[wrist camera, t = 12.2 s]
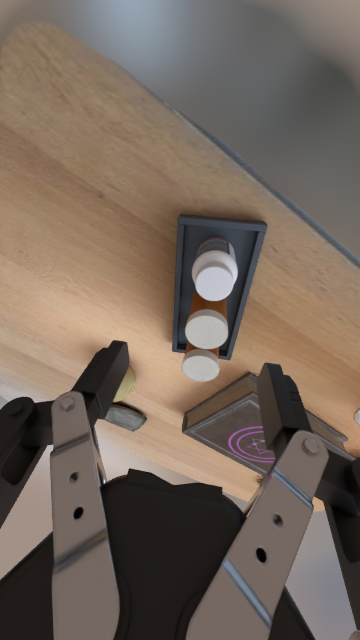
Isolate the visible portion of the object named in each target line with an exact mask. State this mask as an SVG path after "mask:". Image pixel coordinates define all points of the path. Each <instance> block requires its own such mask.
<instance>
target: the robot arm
mask: <svg viewBox="0 0 360 640" xmlns="http://www.w3.org/2000/svg"><path fill="white" fill-rule="evenodd" d="M128 367H129V353H128V345H127V342H123V341H117V340H113V341H112V343H111V344H110V346H109V347H108V348H102V349H101V350H100V351H98V352H97V353H96V354H95V356H94V357H93V359H92V360H91V362H90V363H89V364H88V367H86V369H85V370H84V372H83V373H82V375H81V376H80V378H79V379H78V381H77V382H76V384H75V385H74V387H73V388H72V390H71V391H70V392H66V393H64V394H62V395H60V396H59V397H58V398H57V399H56V400H53V401H46V402H38V403H34V401H33V400H32V399H31V398H29V397H19V398H16V399H14V400H12V401H10V402H8V403H7V404H6V405H5V406H3V407H2V409H1V410H0V528H1V527H2V525H3V523H4V521H5V520H6V518H7V516H8V514H9V513H10V511H11V509H12V507H13V505H14V504H15V502H16V500H17V498H18V497H19V495H20V493H21V491H22V490H23V488H24V486H25V484H26V482H27V481H28V479H29V477H30V475H31V474H32V472H33V470H34V468H35V466H36V465H37V463H38V461H39V459H40V458H41V456H42V454H43V452H44V451H45V449H46V447H47V445H52V444H53V445H54V448H53V451H52V452H51V453H50V474H51V495H52V496H51V497H52V519H53V531H52V532H51V533H50V534H49V535H48V536H47V537H46V538H45V539H44V540H43V541H42V542H40V543H39V544H38V545H37V546H36V547H35V548H34V549H33V550H32V551H31V552H30V553H29V554H28V555H26V556H25V557H24V558H23V559H22V560H21V561H20V562H19V563H18V564H17V565H16V566H15V567H14V568H13V569H11V570H10V571H9V572H8V573H7V574H6V575H5V576H4V577H3V578H2V579H1V580H0V640H315V638H314V636H313V634H312V633H311V631H310V629H309V627H308V625H307V624H306V622H305V620H304V618H303V617H302V615H301V613H300V611H299V609H298V608H297V606H296V604H295V602H294V601H293V599H292V597H291V595H290V593H289V592H288V590H287V588H286V586H285V583H286V581H287V578H288V575H289V573H290V570H291V568H292V565H293V562H294V560H295V557H296V555H297V552H298V549H299V547H300V544H301V541H302V539H303V536H304V534H305V530H306V529H307V526H308V523H309V521H310V518H311V515H312V513H313V508H314V505H313V504H312V500H313V497H314V496H315V497H316V498H318V499H320V500H322V501H323V503H324V506H325V510H326V514H327V518H328V522H329V525H330V529H331V533H332V537H333V540H334V544H335V548H336V552H337V556H338V559H339V563H340V567H341V571H342V575H343V578H344V582H345V586H346V590H347V593H348V597H349V601H350V605H351V609H352V613H353V616H354V620H355V624H356V628H357V631H355V632H353V633H352V635H351V636H350V638H349V640H360V458H356V459H355V460H353V461H351V460H349V459H347V458H345V457H343V456H341V455H338V454H336V453H334V452H332V451H331V450H329V449H327V448H326V446H325V445H324V443H323V442H322V441H321V440H320V439H319V438H318V437H317V436H316V435H314V433H313V431H312V428H311V426H310V423H309V420H308V417H307V414H306V411H305V409H304V406H303V403H302V402H301V401H302V400H301V397H300V395H299V392H298V389H297V386H296V384H295V382H294V381H293V380H292V379H291V377H290V376H288V375H283V371H282V368H281V366H280V365H279V364H272V363H264V365H263V368H262V370H261V372H260V375H259V377H258V380H257V385H256V390H257V396H258V402H259V408H260V414H261V420H262V426H263V432H264V438H265V444H266V450H268V451H273V452H274V454H275V460H274V462H273V463H272V465H271V467H270V468H269V470H268V472H267V473H266V475H265V477H264V478H263V480H262V482H261V483H260V485H259V487H258V488H257V490H256V492H255V493H254V495H253V496H252V498H251V499H250V501H249V502H248V504H247V506H246V507H245V509H244V511H243V512H242V511H241V510H240V508H239V507H238V506H237V505H236V504H235V503H234V502H233V501H232V500H230V499H229V498H228V497H226V496H225V495H223V494H222V487H218V486H213V485H209V484H204V483H190V484H181V485H172V484H170V483H168V482H167V481H165V480H163V479H161V478H160V477H158V476H156V475H154V474H152V473H150V472H145V471H140V470H135V469H129V471H128V474H127V475H123V476H119V477H116V478H114V479H112V480H110V481H108V482H107V478H106V474H105V471H104V467H103V463H102V459H101V455H100V450H99V445H98V441H97V436H96V432H95V427H94V425H95V423H96V421H97V419H103V420H105V417H106V415H107V413H108V411H109V409H110V407H111V404H112V402H113V400H114V398H115V396H116V394H117V391H118V389H119V387H120V385H121V383H122V381H123V378H124V376H125V374H126V372H127V370H128Z"/></svg>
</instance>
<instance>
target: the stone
mask: <svg viewBox="0 0 360 640" xmlns="http://www.w3.org/2000/svg"><path fill="white" fill-rule="evenodd" d="M105 420H106V421H108V422H110V423H112V424H115V425H117V426H120V427H122V428H125V429H127V430H130V431H135V430H137V429H139V428H140V427H141V426H142V425H143V424H144V423H145V421H146V420H147V418H146V417H145V416H143V415H141V414H140V413H138V412H135V411H134V410H132V409H129V408H126V407H123V406H119V405H115V404H111V407H110V409H109V411H108V413H107V415H106V417H105Z"/></svg>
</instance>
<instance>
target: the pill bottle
mask: <svg viewBox="0 0 360 640" xmlns="http://www.w3.org/2000/svg"><path fill="white" fill-rule="evenodd" d="M237 275H238V268H237V263H236V256H235V251H234V249H233V247H232V245H231V244H230V243H229V242H228V241H227V240H225V239H223V238H219V237H214V238H210V239H207V240H206V241H204V242H203V243H202V244H201V245H200V246H199V248H198V250H197V253H196V257H195V260H194V264H193V267H192V278H193V281H194V283H195V287H196V290H197V292H198V294H199V295H200V296H201V297H203V298H204V299H206V300H209V301H219V300H222V299H224V298H226V297H227V296H228V295H229V294H230V293H231V291H232V289H233V285H234V283H235V281H236V279H237Z"/></svg>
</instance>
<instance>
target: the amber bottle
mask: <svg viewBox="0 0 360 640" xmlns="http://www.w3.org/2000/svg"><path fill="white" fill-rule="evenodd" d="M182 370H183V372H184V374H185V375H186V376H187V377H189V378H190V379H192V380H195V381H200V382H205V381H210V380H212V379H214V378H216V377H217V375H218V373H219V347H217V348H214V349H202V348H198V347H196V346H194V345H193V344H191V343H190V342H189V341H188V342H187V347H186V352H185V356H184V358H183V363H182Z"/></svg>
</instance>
